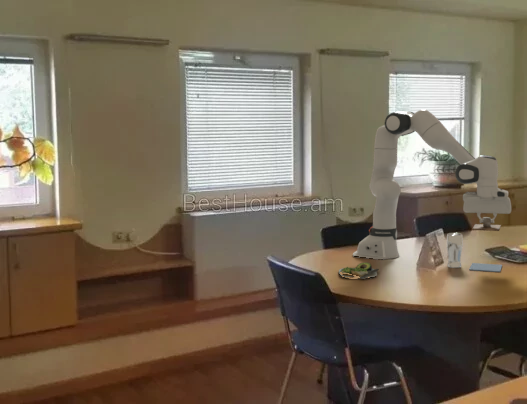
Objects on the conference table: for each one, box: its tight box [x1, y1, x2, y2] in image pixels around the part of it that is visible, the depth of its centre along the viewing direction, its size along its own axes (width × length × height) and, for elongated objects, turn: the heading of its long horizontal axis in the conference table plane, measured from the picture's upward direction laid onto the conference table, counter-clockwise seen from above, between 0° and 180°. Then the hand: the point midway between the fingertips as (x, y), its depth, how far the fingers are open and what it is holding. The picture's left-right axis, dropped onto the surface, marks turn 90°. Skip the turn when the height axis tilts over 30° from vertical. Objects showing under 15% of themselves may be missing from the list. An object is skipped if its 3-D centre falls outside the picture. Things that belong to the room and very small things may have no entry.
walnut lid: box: [472, 216, 502, 232], centre depth 297 cm, size 11×11×5 cm
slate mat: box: [468, 262, 503, 273], centre depth 300 cm, size 13×13×1 cm
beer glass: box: [446, 232, 464, 269], centre depth 303 cm, size 7×7×15 cm
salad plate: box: [338, 262, 379, 280], centre depth 291 cm, size 19×18×5 cm
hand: (486, 223), depth 297 cm, fingers closed on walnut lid, 3 cm apart
